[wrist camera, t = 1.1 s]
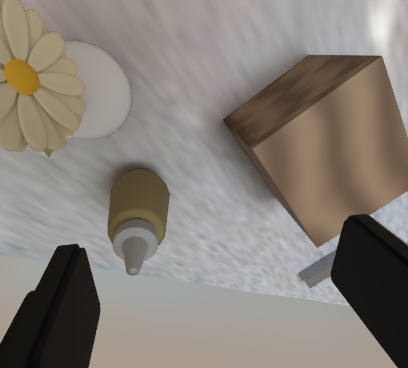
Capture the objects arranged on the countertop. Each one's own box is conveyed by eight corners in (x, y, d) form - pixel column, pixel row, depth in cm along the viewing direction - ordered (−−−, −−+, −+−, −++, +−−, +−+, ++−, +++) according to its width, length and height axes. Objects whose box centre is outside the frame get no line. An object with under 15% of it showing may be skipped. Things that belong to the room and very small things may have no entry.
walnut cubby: (309, 54, 37) (381, 55, 25) (350, 147, 44) (421, 181, 32) (223, 119, 39) (252, 148, 27) (276, 197, 46) (317, 247, 34)
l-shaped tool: (377, 220, 52) (422, 255, 43) (383, 233, 54) (428, 269, 45) (297, 270, 54) (325, 313, 46) (305, 281, 56) (333, 324, 47)
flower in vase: (131, 139, 38) (96, 263, 16) (42, 131, 35) (-149, 263, 13) (134, 34, 32) (87, -7, 10) (29, 16, 30) (-328, -85, 8)
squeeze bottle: (160, 213, 44) (163, 306, 28) (109, 202, 41) (79, 296, 25) (175, 169, 41) (187, 244, 25) (120, 154, 38) (95, 226, 22)
